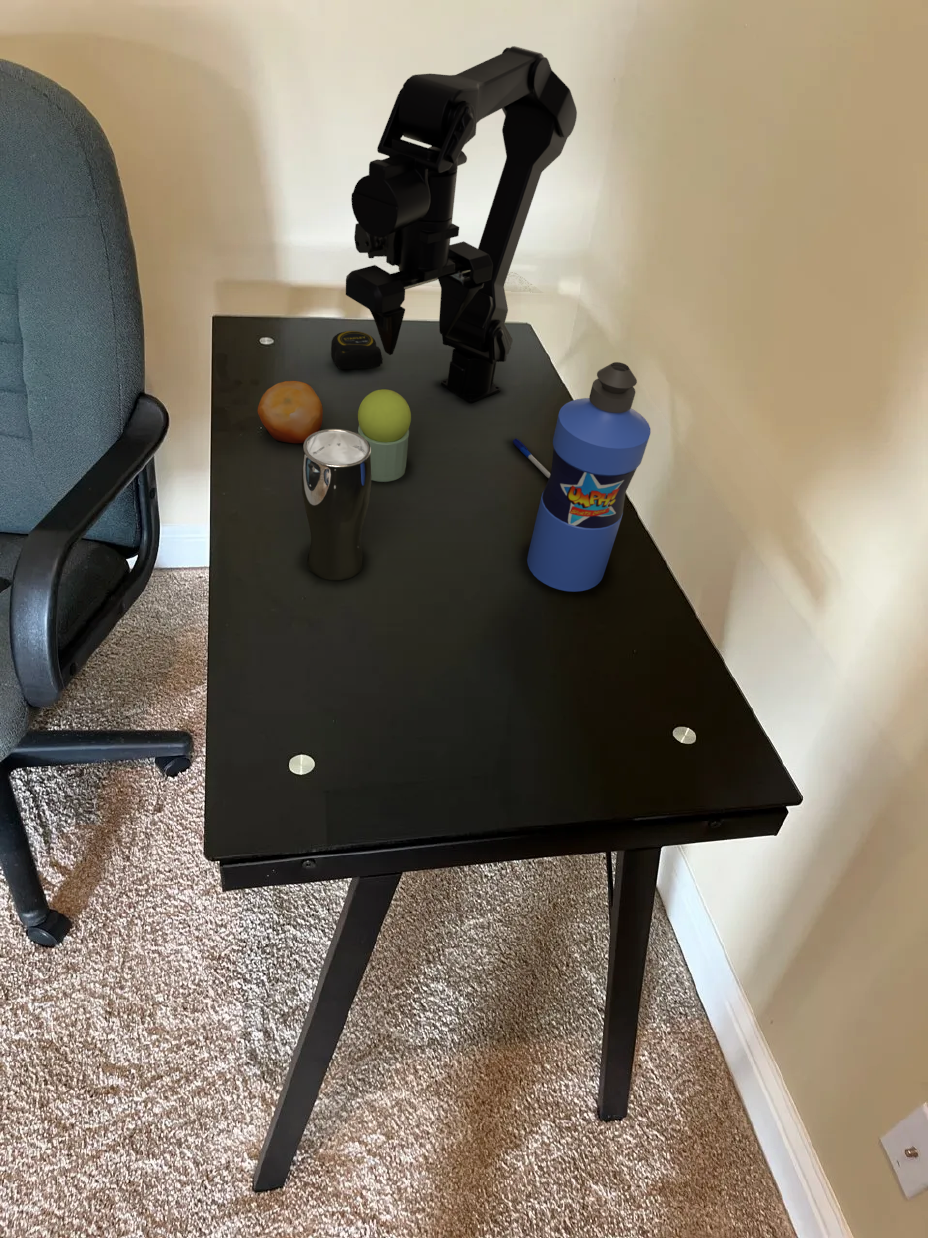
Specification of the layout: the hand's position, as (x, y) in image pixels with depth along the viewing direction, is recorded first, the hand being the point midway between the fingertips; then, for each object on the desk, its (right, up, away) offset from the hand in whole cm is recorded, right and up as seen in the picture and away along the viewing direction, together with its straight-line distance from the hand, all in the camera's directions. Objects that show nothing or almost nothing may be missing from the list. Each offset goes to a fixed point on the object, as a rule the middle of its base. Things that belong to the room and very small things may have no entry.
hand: (416, 343), depth 103 cm
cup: (-5, -15, +2) cm, 16 cm away
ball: (-4, -10, -3) cm, 11 cm away
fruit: (-17, -11, +5) cm, 20 cm away
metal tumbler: (-8, -28, -11) cm, 31 cm away
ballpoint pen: (+15, -14, +7) cm, 22 cm away
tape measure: (-10, +3, +20) cm, 23 cm away
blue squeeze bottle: (+18, -28, -7) cm, 34 cm away
